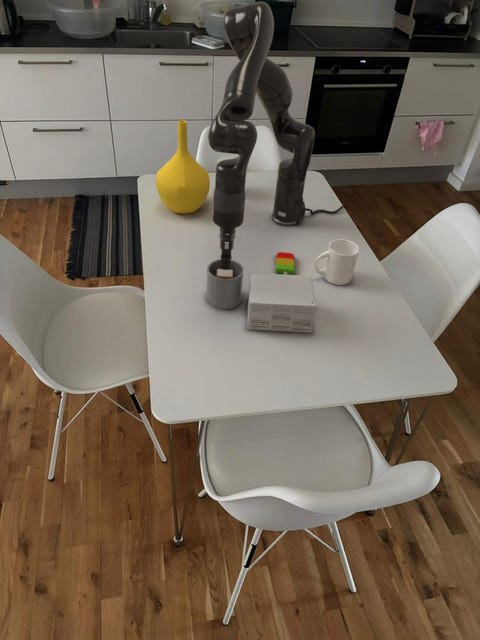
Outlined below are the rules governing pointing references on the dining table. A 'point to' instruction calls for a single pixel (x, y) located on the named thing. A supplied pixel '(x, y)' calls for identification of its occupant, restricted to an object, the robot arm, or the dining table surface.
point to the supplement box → (281, 302)
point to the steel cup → (224, 286)
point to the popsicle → (285, 263)
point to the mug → (339, 261)
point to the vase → (182, 178)
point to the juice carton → (224, 274)
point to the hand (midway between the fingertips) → (225, 262)
